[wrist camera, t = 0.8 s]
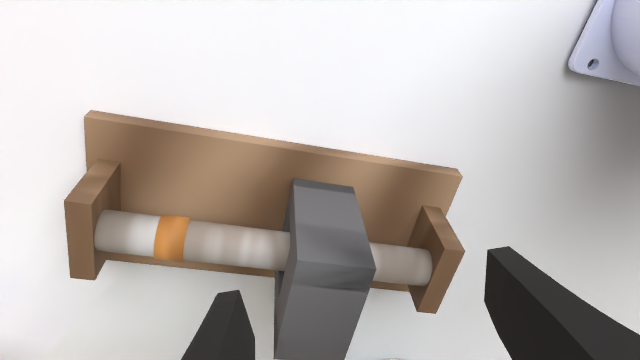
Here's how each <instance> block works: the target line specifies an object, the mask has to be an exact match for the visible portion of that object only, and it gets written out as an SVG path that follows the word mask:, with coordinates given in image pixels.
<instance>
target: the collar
mask: <svg viewBox="0 0 640 360" xmlns="http://www.w3.org/2000/svg"><path fill="white" fill-rule="evenodd" d="M282 231H283V232H290V250H289V254H288V259H287V263H286V267H285V271H279V270H275V308H274V359H280V360H344V359H345V356H346V354H347V351H348V348H349V345H350V342H351V340H352V337H353V334H354V331H355V328H356V326H357V323H358V320H359V317H360V314H361V311H362V309H363V306H364V303H365V300H366V297H367V295H368V292H369V289H370V286H371V283H372V281H373V278H374V275H375V272H376V265H375V262H374V258H373V255H372V251H371V248H370V244H369V241H368V237H367V234H366V230H365V226H364V223H363V219H362V216H361V212H360V209H359V205H358V202H357V198H356V195H355V191H354V188H353V187H350V186H343V185H336V184H329V183H323V182H316V181H309V180H302V179H295V178H293V182H292V186H291V191H290V196H289V201H288V205H287V210H286V215H285V220H284V224H283V229H282Z"/></svg>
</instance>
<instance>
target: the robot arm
mask: <svg viewBox="0 0 640 360" xmlns="http://www.w3.org/2000/svg"><path fill="white" fill-rule="evenodd" d="M592 59H593V60H594V61H593V64H592V65H591V66H590V67H587V66H588V63H589V62H590V61H591V60H592ZM568 64H569V68H570V69H571V70H573V71H575V72H577V73H580V74H585V75H590V76H594V77H599V78H604V79H609V80H613V81H618V82H623V83H627V84H632V85H637V86H640V0H598V1H597V3H596V5H595V7H594V9H593V11H592V13H591V15H590V18H589V20H588V22H587V24H586V26H585V28H584V30H583V32H582V34H581V36H580V38H579V40H578V42H577V44H576V46H575V48H574V50H573V53H572V55H571V57H570V59H569V62H568ZM484 302H485V304H486V307H487V309H488V312H489V314H490V317H491V319H492V321H493V324H494V326H495V328H496V331H497V333H498V335H499V337H500V339H501V340H502V342H503V344H504V346H505V348H506V349H507V351H508V353H509V355H510V356H511V358H512V360H640V335H639V334H637V333H636V332H634V331H632V330H630V329H628V328H627V327H625V326H623V325H622V324H620V323H618V322H616V321H615V320H613V319H612V318H610V317H608V316H607V315H605V314H604V313H602V312H601V311H599V310H597V309H596V308H594V307H593V306H591V305H590V304H588V303H587V302H585V301H584V300H582V299H581V298H579V297H578V296H576V295H575V294H573V293H572V292H570V291H569V290H567V289H566V288H565V287H563V286H562V285H560V284H559V283H558V282H556V281H555V280H553V279H552V278H551V277H549V276H548V275H547V274H545V273H544V272H543V271H541V270H540V269H538V268H537V267H536V266H534V265H533V264H532V263H530V262H529V261H528V260H526V259H525V258H524V257H522V256H521V255H520V254H518V253H517V252H516V251H514V250H513V249H512V248H510V247H509V246H508V247H501V248H495V249H489V250H487V266H486V281H485V296H484ZM181 360H255V337H254V334H253V331H252V328H251V324H250V321H249V318H248V315H247V312H246V309H245V306H244V303H243V300H242V297H241V294H240V291H239V290H235V291H229V292H223V293H218V294H217V296H216V297H215V299H214V301H213V303H212V305H211V307H210V309H209V311H208V313H207V314H206V316H205V318H204V320H203V322H202V324H201V326H200V328H199V329H198V331H197V333H196V335H195V337H194V338H193V340H192V342H191V343H190V345H189V347H188V349H187V350H186V352H185V354H184V355H183V357H182V359H181Z"/></svg>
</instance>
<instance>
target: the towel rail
mask: <svg viewBox="0 0 640 360" xmlns="http://www.w3.org/2000/svg"><path fill="white" fill-rule="evenodd" d="M84 127H85V146H86V166H87V173H86V174H85V175H84V176H83V178H82V179H81V180H80V181H79V183H78V184H77V185H76V186H75V188H74V189H73V190H72V191H71V193H70V194H69V195H68V196H67V198H66V199H65V200H64V207H65V219H66V231H67V243H68V255H69V267H70V278H76V279H86V280H95V279H96V278H97V276H98V274H99V272H100V270H101V268H102V266H103V264H104V262H105V261H106V260H114V261H123V262H133V263H142V264H152V265H161V266H171V267H180V268H189V269H199V270H208V271H218V272H227V273H237V274H246V275H256V276H265V277H275V270H279V271H285V267H286V263H287V259H288V254H289V250H290V232H283V231H282V229H283V224H284V220H285V215H286V210H287V205H288V201H289V196H290V191H291V186H292V182H293V178H295V179H302V180H309V181H316V182H323V183H329V184H336V185H343V186H350V187H353V188H354V191H355V195H356V198H357V202H358V205H359V209H360V212H361V216H362V219H363V223H364V226H365V230H366V234H367V237H368V241H369V244H370V248H371V251H372V255H373V258H374V262H375V265H376V272H375V275H374V278H373V281H372V283H371V286H370V288H378V289H388V290H397V291H407V292H410V294H411V296H412V299H413V302H414V305H415V308H416V310H417V312H424V313H434V314H436V312H437V310H438V308H439V306H440V304H441V302H442V299H443V297H444V295H445V293H446V291H447V289H448V287H449V285H450V282H451V280H452V278H453V276H454V274H455V272H456V270H457V268H458V265H459V263H460V261H461V259H462V257H463V255H464V253H465V250H464V248H463V247H462V245H461V243H460V241H459V240H458V238H457V236H456V234H455V233H454V231H453V229H452V228H451V226H450V224H449V222H448V221H447V219H446V214H447V212H448V210H449V207H450V205H451V203H452V200H453V198H454V196H455V193H456V191H457V188H458V186H459V184H460V181H461V179H462V177H463V176H462V175H461V174H460V172H459V171H458V170H457V169H454V168H448V167H441V166H435V165H429V164H423V163H416V162H410V161H404V160H398V159H392V158H385V157H379V156H373V155H367V154H360V153H354V152H348V151H342V150H336V149H329V148H323V147H317V146H311V145H304V144H298V143H292V142H286V141H279V140H273V139H267V138H261V137H255V136H248V135H242V134H236V133H230V132H223V131H217V130H211V129H205V128H198V127H192V126H186V125H180V124H174V123H167V122H161V121H155V120H149V119H142V118H136V117H130V116H124V115H117V114H111V113H105V112H99V111H93V110H91V111H90V112H89V113H87V114H86V115H85V116H84Z"/></svg>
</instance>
